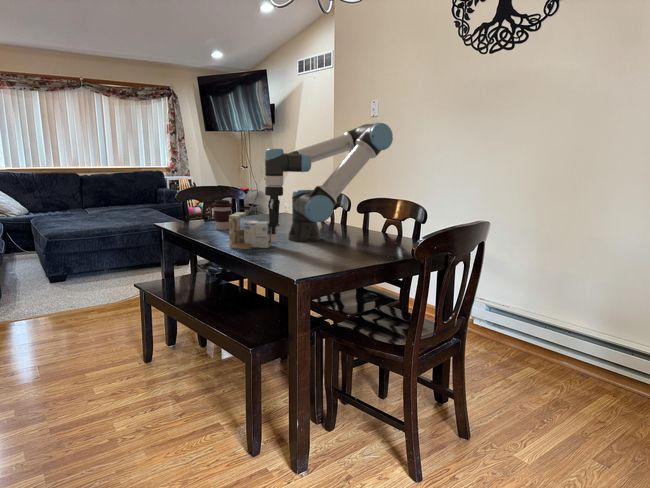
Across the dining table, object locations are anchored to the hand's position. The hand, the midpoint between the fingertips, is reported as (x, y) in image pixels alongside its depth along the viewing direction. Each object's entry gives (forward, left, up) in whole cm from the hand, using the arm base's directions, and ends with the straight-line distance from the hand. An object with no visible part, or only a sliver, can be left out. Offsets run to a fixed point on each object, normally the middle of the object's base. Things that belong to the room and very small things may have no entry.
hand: (274, 241), depth 195 cm
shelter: (0, -13, -3) cm, 13 cm away
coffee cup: (-40, -36, -3) cm, 53 cm away
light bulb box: (0, -7, -3) cm, 7 cm away
